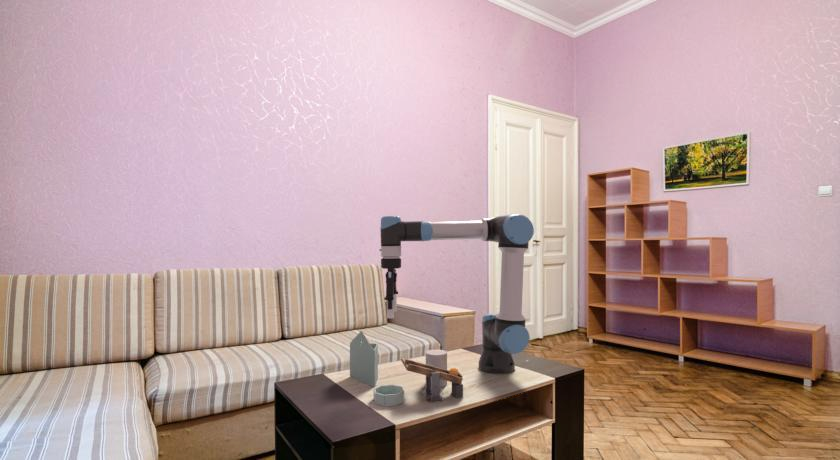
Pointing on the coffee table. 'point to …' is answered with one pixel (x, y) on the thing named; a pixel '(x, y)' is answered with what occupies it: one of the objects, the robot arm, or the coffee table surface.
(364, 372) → the planter
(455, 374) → the ball
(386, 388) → the bowl
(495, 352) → the robot arm
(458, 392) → the block
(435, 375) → the fulcrum
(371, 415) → the coffee table surface
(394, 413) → the coffee table surface
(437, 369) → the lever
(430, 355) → the pale pink cylinder
